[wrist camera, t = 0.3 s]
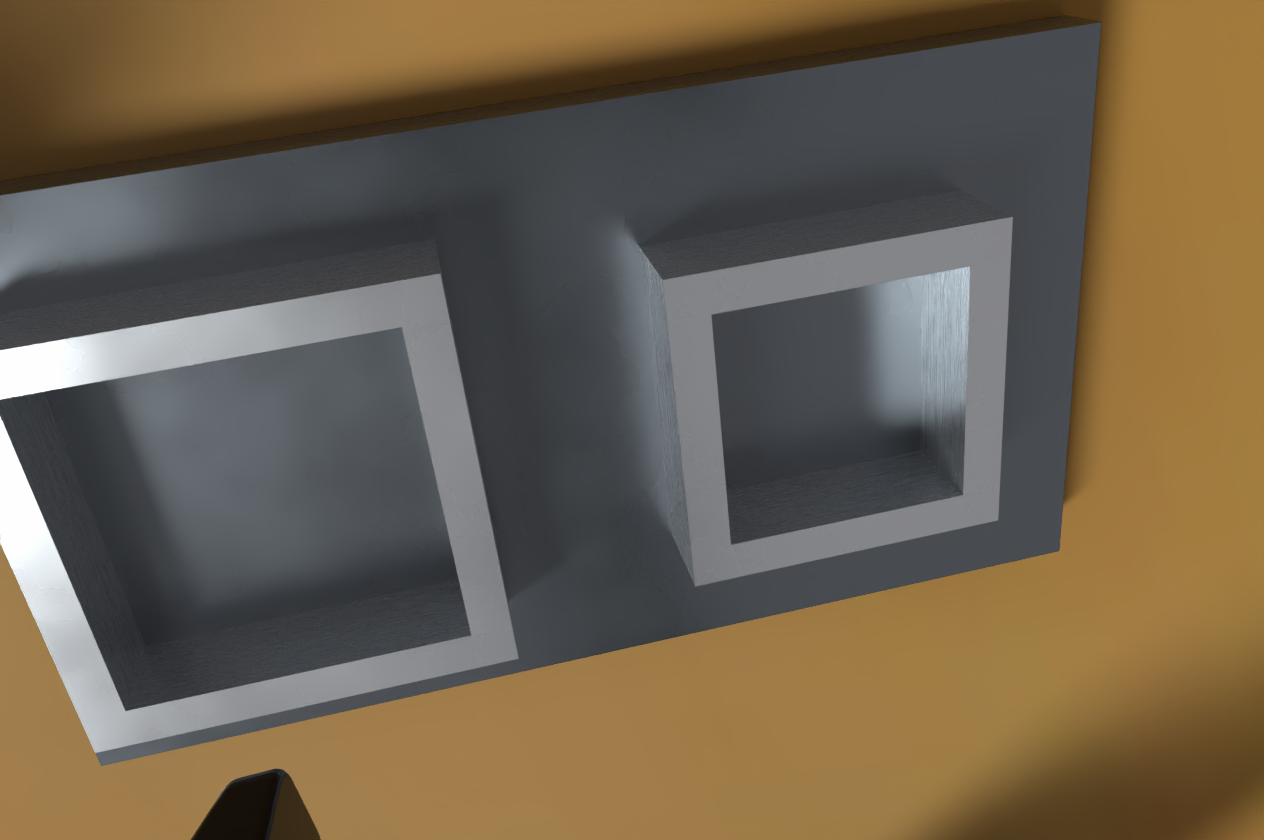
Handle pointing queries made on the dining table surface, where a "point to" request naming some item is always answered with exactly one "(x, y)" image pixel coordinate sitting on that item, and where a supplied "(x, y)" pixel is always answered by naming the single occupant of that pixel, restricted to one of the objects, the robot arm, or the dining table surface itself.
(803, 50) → the dining table surface
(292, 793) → the robot arm
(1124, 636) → the dining table surface
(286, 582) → the fitting board
